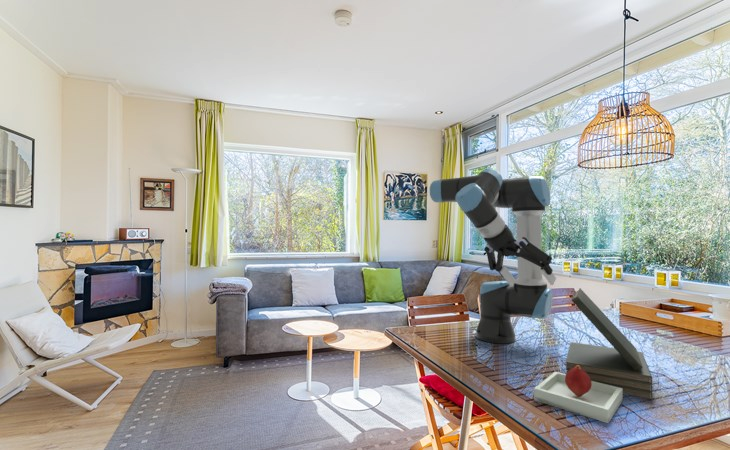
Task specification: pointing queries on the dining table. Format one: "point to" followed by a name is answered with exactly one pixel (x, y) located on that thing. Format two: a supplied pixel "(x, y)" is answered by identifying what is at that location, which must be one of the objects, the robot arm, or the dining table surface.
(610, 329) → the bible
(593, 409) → the tray
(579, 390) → the onion
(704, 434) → the dining table surface
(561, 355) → the dining table surface
